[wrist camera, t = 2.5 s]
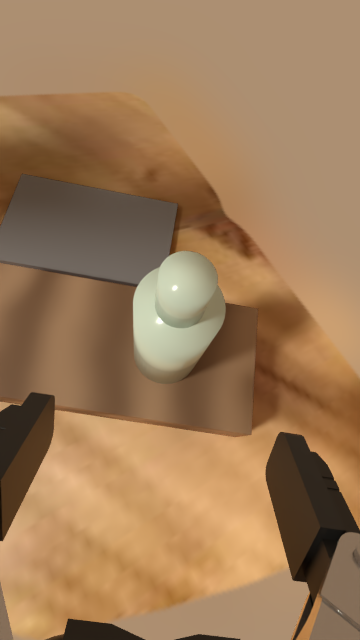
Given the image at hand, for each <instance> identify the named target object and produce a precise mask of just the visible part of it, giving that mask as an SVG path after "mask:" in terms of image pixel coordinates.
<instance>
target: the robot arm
mask: <svg viewBox="0 0 360 640" xmlns="http://www.w3.org/2000/svg"><path fill="white" fill-rule="evenodd" d="M54 412H55V396H54V395H48V394H42V393H36V392H31V393H30V394H29V395H28V397H27V398H26V400H25V401H24V403H23V404H22V405H21V406H18V405H10V406H9V407H7V408H5V409H4V410H2V411H1V412H0V541H3V540H4V538H5V536H6V533H7V531H8V529H9V527H10V525H11V523H12V521H13V519H14V517H15V515H16V513H17V511H18V509H19V507H20V505H21V503H22V501H23V499H24V497H25V495H26V493H27V491H28V489H29V487H30V485H31V483H32V481H33V479H34V477H35V475H36V473H37V471H38V469H39V467H40V465H41V463H42V461H43V459H44V457H45V455H46V453H47V451H48V449H49V446H50V444H51V440H52V436H53V431H54ZM266 482H267V486H268V489H269V493H270V497H271V501H272V504H273V508H274V512H275V516H276V519H277V523H278V527H279V531H280V534H281V538H282V542H283V545H284V549H285V553H286V557H287V560H288V564H289V568H290V572H291V575H292V579H293V580H294V581H301V582H307V584H308V587H309V591H310V592H309V594H308V596H307V598H306V601H305V603H304V606H303V608H302V611H301V614H300V616H299V619H298V622H297V624H296V627H295V629H294V632H293V635H292V638H291V640H360V530H359V528H358V526H357V524H356V522H355V520H354V518H353V516H352V514H351V512H350V510H349V508H348V506H347V504H346V502H345V500H344V498H343V496H342V494H341V492H339V487H338V485H337V483H336V481H334V477H333V475H332V473H331V471H330V469H329V467H328V465H327V464H326V463H325V462H324V461H323V460H322V458H321V457H320V456H319V455H318V454H317V453H316V452H310V449H309V447H308V445H307V443H306V441H305V439H304V437H303V436H302V435H297V434H291V433H285V432H280V433H279V434H278V436H277V439H276V441H275V444H274V446H273V449H272V452H271V454H270V457H269V459H268V462H267V466H266ZM0 640H13V636H12V632H11V628H10V623H9V619H8V614H7V610H6V606H5V601H4V597H3V592H2V588H1V584H0ZM46 640H145V639H142V638H140V637H138V636H136V635H134V634H131V633H130V632H128V631H125V630H123V629H121V628H119V627H117V626H115V625H113V624H108V623H100V622H91V621H83V620H74V619H68V621H67V625H66V629H65V633H64V634H62V635H58V636H54V637H51V638H49V639H46ZM176 640H240V639H235V638H226V637H218V636H209V635H201V634H198V635H193V636H189V637H185V638H180V639H176Z"/></svg>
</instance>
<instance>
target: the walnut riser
mask: <svg viewBox="0 0 360 640" xmlns="http://www.w3.org/2000/svg"><path fill="white" fill-rule="evenodd" d="M136 288H137V287H132V286H127V285H121V284H115V283H110V282H104V281H98V280H93V279H87V278H81V277H76V276H70V275H64V274H59V273H53V272H47V271H42V270H36V269H30V268H25V267H19V266H13V265H8V264H2V263H0V401H1V402H8V403H15V404H21V405H22V404H23V403H24V401H25V400H26V398H27V397H28V395H29V394H30V393H31V392H36V393H42V394H48V395H54V396H55V410H61V411H67V412H74V413H81V414H87V415H94V416H100V417H107V418H114V419H120V420H127V421H133V422H140V423H147V424H153V425H160V426H166V427H173V428H179V429H186V430H193V431H199V432H206V433H212V434H219V435H226V436H232V437H240V436H246V435H251V433H252V413H253V394H254V375H255V356H256V337H257V318H258V309H257V308H251V307H246V306H240V305H234V304H229V303H225V306H226V312H225V318H224V322H223V324H222V326H221V328H220V330H219V331H218V333H217V334H216V336H215V337H214V339H213V340H212V342H211V343H210V345H209V346H208V347H207V349H206V350H205V352H204V353H203V355H202V356H201V358H200V359H199V361H198V362H197V363H196V365H195V366H194V368H193V369H192V371H191V372H190V373H189V374H188V375H187V376H186V377H185V378H184V379H182V380H180V381H178V382H175V383H171V384H160V383H156V382H153V381H151V380H149V379H148V378H146V377H145V376H144V375H143V374H142V373H141V372H140V371H139V369H138V367H137V365H136V363H135V360H134V335H133V298H134V294H135V291H136Z"/></svg>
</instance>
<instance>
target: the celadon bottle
mask: <svg viewBox="0 0 360 640" xmlns="http://www.w3.org/2000/svg"><path fill="white" fill-rule="evenodd" d="M217 284H218V275H217V272H216V269H215V267H214V265H213V264H212V263H211V262H210V261H209V260H208V259H207V258H206V257H204V256H203V255H201V254H199V253H196V252H192V251H180V252H176V253H174V254H172V255H170V256H168V257H167V258H166V259H165V260H164V261H163V262H162V264H161V266H160V267H159V268H157V269H155V270H153V271H151V272H150V273H148V274H147V275H146V276H145V277H144V278H143V279H142V280H141V281H140V283H139V285H138V286H137V288H136V291H135V294H134V298H133V335H134V360H135V363H136V365H137V367H138V369H139V371H140V372H141V373H142V374H143V375H144V376H145V377H146V378H148V379H149V380H151V381H153V382H156V383H160V384H171V383H175V382H178V381H180V380H182V379H184V378H185V377H186V376H187V375H188V374H189V373H190V372H191V371H192V369H193V368H194V366H195V365H196V363H197V362H198V361H199V359H200V358H201V356H202V355H203V353H204V352H205V350H206V349H207V347H208V346H209V345H210V343H211V342H212V340H213V339H214V337H215V336H216V334H217V333H218V331H219V330H220V328H221V326H222V324H223V322H224V318H225V312H226V306H225V300H224V296H223V294H222V291H221V289H220V288H219V286H218V285H217Z"/></svg>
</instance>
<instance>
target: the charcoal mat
mask: <svg viewBox="0 0 360 640" xmlns="http://www.w3.org/2000/svg"><path fill="white" fill-rule="evenodd" d="M177 206H178V204H176V203H171V202H166V201H160V200H155V199H150V198H145V197H140V196H135V195H129V194H124V193H119V192H114V191H109V190H104V189H98V188H93V187H88V186H83V185H78V184H73V183H67V182H62V181H57V180H52V179H47V178H42V177H36V176H31V175H26V174H22V175H21V177H20V180H19V182H18V185H17V187H16V190H15V192H14V195H13V197H12V199H11V202H10V204H9V207H8V209H7V212H6V214H5V217H4V219H3V221H2V224H1V226H0V263H4V264H9V265H15V266H21V267H26V268H32V269H37V270H43V271H49V272H54V273H60V274H66V275H71V276H77V277H83V278H88V279H94V280H100V281H105V282H111V283H117V284H122V285H128V286H134V287H137V286H138V285H139V283H140V281H141V280H142V279H143V278H144V277H145V276H146V275H147V274H148V273H150V272H151V271H153V270H155V269H157V268H159V267H160V266H161V264H162V262H163V261H164V260H165V259H166V258H167V257H168V256H169V253H170V247H171V241H172V235H173V230H174V224H175V218H176V212H177Z"/></svg>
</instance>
